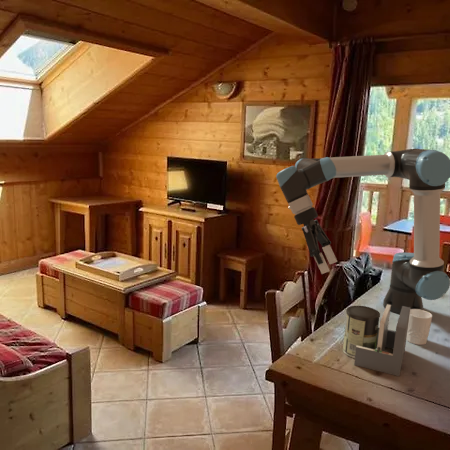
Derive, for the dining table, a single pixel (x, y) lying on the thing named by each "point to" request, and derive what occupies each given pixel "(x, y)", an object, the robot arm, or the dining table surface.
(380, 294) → the dining table surface
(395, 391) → the dining table surface
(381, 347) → the curved beige panel
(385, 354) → the grey u-shaped holder
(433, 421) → the dining table surface
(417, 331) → the white cup
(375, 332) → the coffee can
